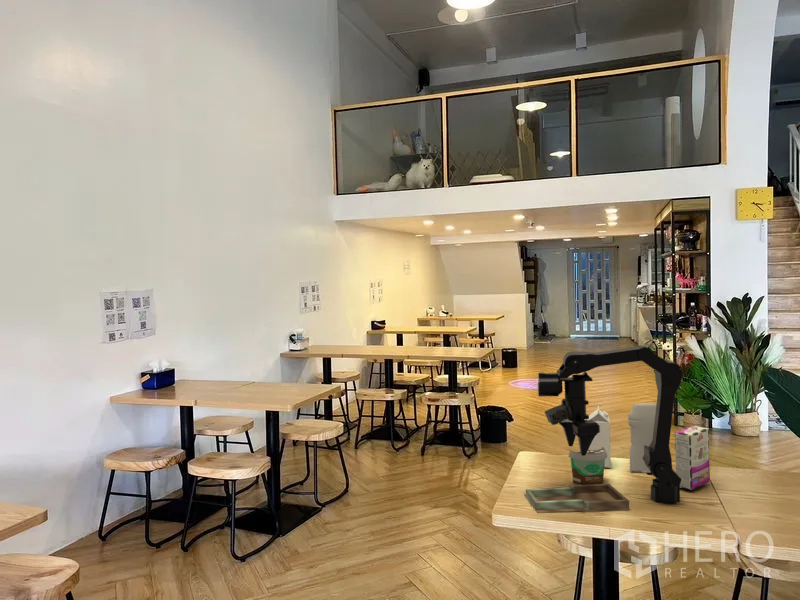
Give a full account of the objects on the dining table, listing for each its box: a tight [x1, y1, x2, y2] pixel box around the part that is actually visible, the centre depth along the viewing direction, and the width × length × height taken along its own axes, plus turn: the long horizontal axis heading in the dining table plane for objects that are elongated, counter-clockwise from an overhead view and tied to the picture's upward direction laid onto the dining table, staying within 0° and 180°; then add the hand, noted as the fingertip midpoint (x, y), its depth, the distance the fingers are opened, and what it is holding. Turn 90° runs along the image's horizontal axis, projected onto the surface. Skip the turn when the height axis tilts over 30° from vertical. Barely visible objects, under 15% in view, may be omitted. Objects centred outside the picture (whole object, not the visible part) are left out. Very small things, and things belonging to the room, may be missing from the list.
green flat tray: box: [524, 483, 630, 514], centre depth 160 cm, size 25×13×2 cm, turn 93°
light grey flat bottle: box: [627, 402, 657, 474], centre depth 184 cm, size 11×4×22 cm, turn 87°
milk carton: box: [586, 405, 612, 469], centre depth 192 cm, size 7×7×19 cm
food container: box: [568, 447, 607, 485], centre depth 174 cm, size 12×6×10 cm, turn 105°
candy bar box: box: [674, 425, 711, 491], centre depth 172 cm, size 11×5×16 cm, turn 126°
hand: (576, 450), depth 164 cm, fingers open, 9 cm apart
